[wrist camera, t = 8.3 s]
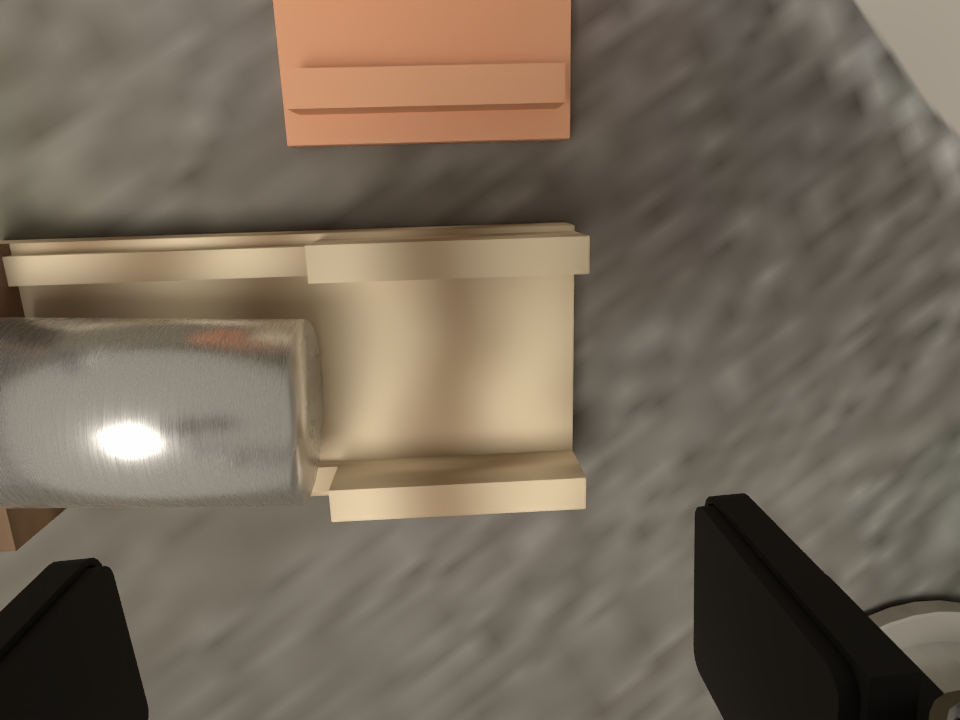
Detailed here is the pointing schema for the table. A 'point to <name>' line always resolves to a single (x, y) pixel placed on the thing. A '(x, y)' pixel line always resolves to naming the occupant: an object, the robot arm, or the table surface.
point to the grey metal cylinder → (158, 412)
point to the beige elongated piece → (367, 348)
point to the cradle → (424, 71)
